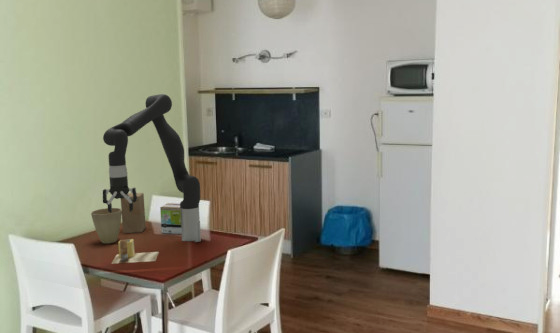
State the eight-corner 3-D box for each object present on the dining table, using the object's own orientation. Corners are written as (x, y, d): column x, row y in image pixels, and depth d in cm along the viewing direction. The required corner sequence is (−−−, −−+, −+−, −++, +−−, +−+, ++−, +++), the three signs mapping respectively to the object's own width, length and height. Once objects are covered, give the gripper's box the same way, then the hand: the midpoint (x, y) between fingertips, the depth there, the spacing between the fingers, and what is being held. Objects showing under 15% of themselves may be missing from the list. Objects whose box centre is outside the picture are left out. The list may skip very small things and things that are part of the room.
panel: (159, 254, 259) (158, 251, 258) (155, 263, 245) (155, 260, 245) (117, 256, 257) (116, 254, 256) (111, 266, 243) (111, 263, 243)
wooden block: (141, 232, 299) (138, 196, 296) (122, 233, 299) (120, 196, 296) (146, 228, 309) (143, 192, 306) (128, 228, 309) (125, 193, 306)
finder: (134, 253, 256) (133, 238, 255) (133, 257, 251) (131, 241, 250) (121, 254, 256) (120, 239, 255) (119, 258, 251) (118, 242, 250)
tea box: (161, 233, 295) (159, 206, 293) (168, 229, 305) (167, 202, 303) (187, 234, 292) (186, 207, 290) (194, 229, 302) (193, 203, 300)
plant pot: (113, 236, 294) (110, 206, 291) (129, 240, 284) (127, 209, 282) (87, 242, 282) (85, 212, 280) (104, 247, 273) (101, 215, 271)
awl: (128, 259, 249) (127, 239, 247) (127, 261, 246) (126, 241, 244) (121, 259, 248) (120, 239, 247) (120, 261, 245) (119, 241, 244)
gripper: (99, 177, 237) (102, 214, 240) (133, 175, 239) (136, 212, 241) (103, 174, 245) (106, 211, 247) (136, 173, 246) (138, 209, 248)
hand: (120, 211), depth 244 cm, fingers open, 8 cm apart
